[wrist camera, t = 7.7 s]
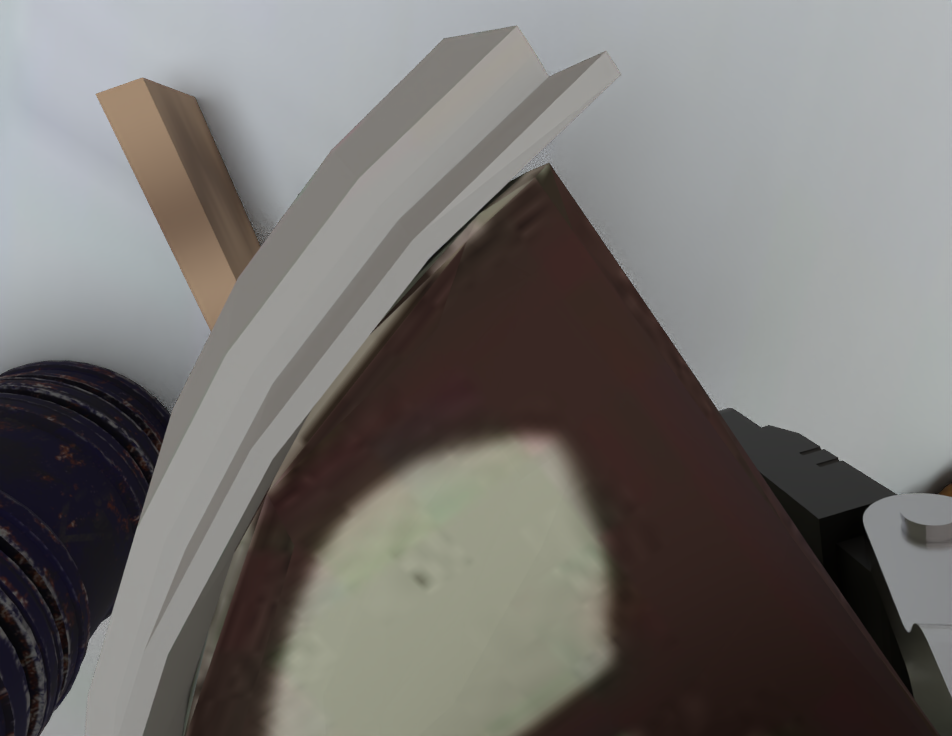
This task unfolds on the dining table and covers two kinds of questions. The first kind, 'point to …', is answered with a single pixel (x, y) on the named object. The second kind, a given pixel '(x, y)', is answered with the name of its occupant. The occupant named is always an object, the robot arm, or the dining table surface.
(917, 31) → the dining table surface
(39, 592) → the rusty blue oil drum
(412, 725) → the food container
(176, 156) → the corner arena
